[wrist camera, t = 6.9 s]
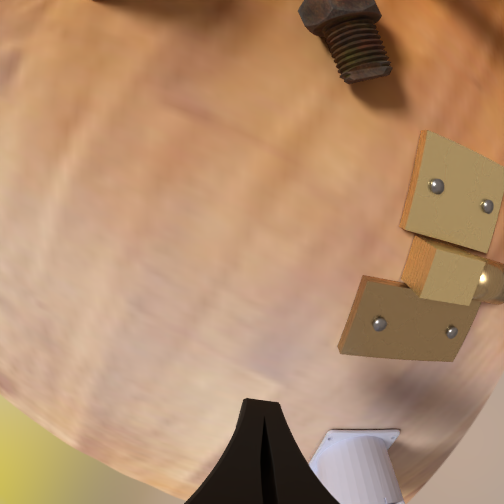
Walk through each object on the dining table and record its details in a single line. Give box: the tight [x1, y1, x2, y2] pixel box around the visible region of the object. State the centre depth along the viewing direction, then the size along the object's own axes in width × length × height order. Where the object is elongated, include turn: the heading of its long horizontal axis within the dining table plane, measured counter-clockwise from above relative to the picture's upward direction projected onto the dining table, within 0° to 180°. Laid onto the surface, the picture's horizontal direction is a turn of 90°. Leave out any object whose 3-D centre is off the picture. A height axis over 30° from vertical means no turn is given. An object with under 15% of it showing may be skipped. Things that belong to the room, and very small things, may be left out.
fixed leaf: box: [338, 255, 504, 362], centre depth 19 cm, size 9×12×3 cm
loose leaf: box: [399, 130, 504, 306], centre depth 17 cm, size 10×8×3 cm
